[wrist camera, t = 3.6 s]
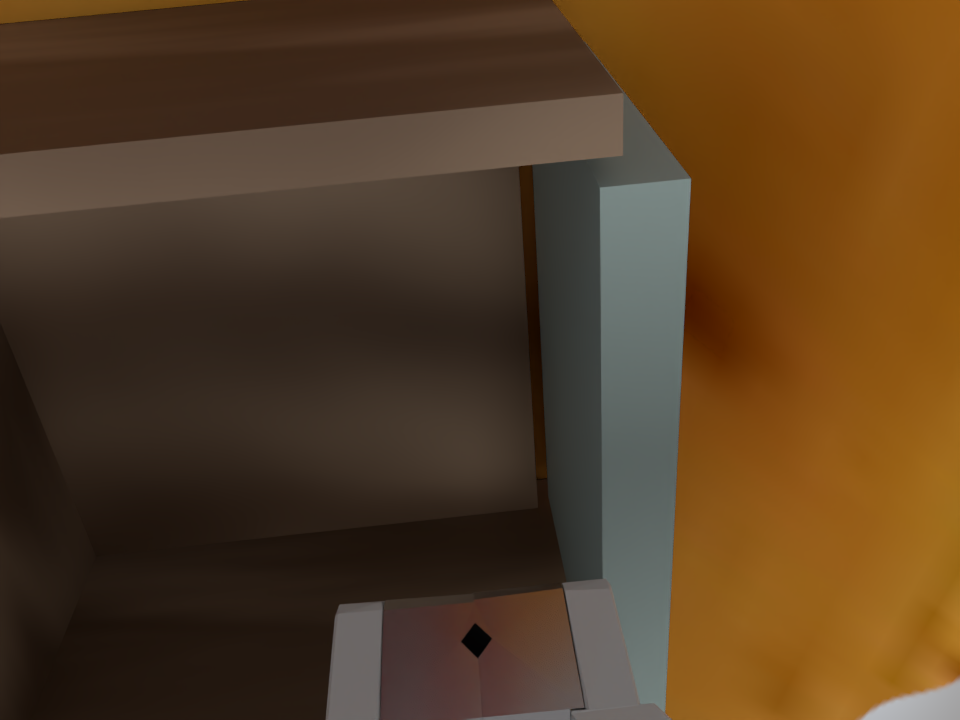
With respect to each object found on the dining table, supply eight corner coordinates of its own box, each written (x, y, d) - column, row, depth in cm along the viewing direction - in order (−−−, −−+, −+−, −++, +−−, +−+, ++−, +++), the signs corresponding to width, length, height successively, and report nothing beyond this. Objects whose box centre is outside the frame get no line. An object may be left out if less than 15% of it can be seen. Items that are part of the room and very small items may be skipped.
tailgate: (591, 491, 25) (663, 748, 18) (548, 495, 25) (603, 755, 18) (584, 41, 19) (691, 178, 12) (526, 47, 19) (599, 187, 12)
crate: (553, 499, 27) (618, 789, 19) (88, 550, 26) (-44, 866, 18) (531, -27, 19) (622, 93, 11) (-124, 36, 19) (-503, 204, 11)
